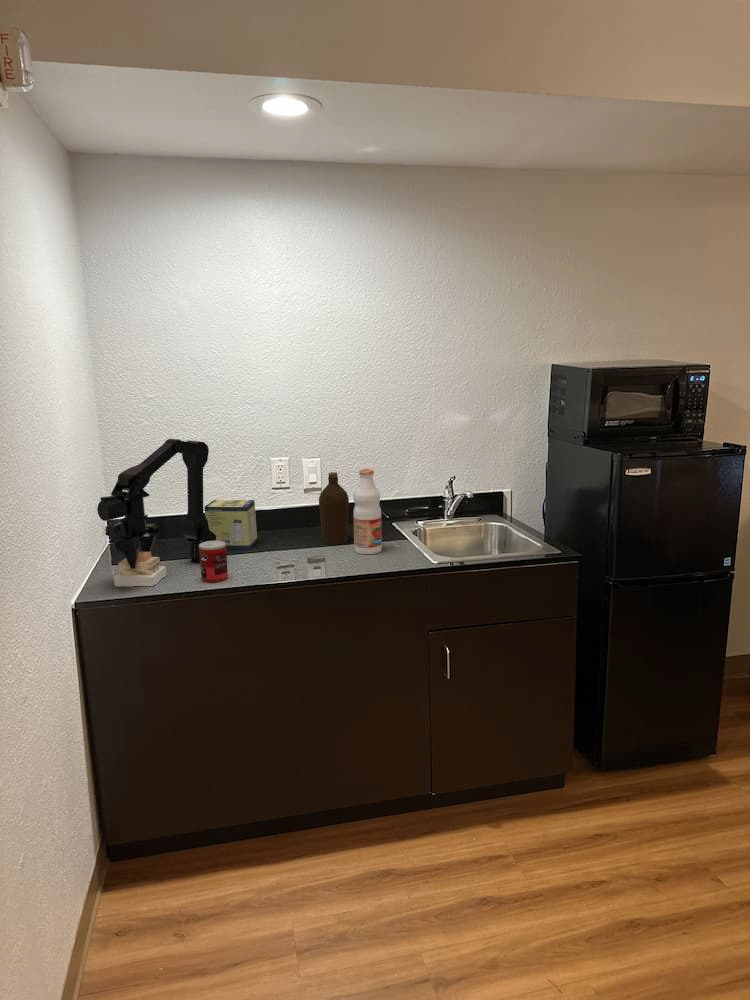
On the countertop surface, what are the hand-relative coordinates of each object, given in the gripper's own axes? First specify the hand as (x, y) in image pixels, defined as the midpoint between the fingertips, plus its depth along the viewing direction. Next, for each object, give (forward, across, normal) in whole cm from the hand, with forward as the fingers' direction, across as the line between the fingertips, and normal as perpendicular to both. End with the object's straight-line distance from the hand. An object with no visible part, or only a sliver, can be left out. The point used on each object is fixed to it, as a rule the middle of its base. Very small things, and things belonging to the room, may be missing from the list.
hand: (139, 563), depth 206 cm
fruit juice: (+6, -33, +66) cm, 74 cm away
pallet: (+2, 0, 0) cm, 3 cm away
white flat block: (+6, 0, 0) cm, 6 cm away
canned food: (+6, -3, +22) cm, 23 cm away
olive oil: (+6, -44, +53) cm, 69 cm away
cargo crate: (-1, 0, 0) cm, 1 cm away
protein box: (+6, -38, +17) cm, 42 cm away
